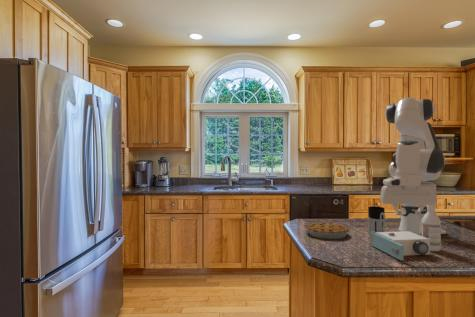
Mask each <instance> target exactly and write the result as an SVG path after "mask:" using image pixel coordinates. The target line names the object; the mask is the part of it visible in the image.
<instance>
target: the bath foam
mask: <svg viewBox="0 0 475 317" xmlns="http://www.w3.org/2000/svg"><path fill="white" fill-rule="evenodd" d="M426 207H427V213H426V214H425V215H424V217H423V219H422V235H421V236H423V237H426V238H428V239H430V252H440V251H441V248H442V244H441V243H442V241H441V240H442V239H441V238H442V234H441V229H442V225H441V219H440V217H439V215H437V212H436V204H435V205H427V206H426Z"/></svg>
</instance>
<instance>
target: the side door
mask: <svg viewBox="0 0 475 317" xmlns="http://www.w3.org/2000/svg"><path fill="white" fill-rule="evenodd" d="M371 247H373V248H375V249H378V250H380V251H382V252H383V253H386V255H389V256H391V257H393V258H395V259H396V260H399V261H401V262H403V261H404V260H405V259H404V245H401V244H399V243H397V242H395V241H392V240H390V239H388V238H386V237H383V236H381V235H379V234H377V233H375V232H374V231H372V238H371Z"/></svg>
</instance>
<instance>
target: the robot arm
mask: <svg viewBox="0 0 475 317" xmlns="http://www.w3.org/2000/svg"><path fill="white" fill-rule="evenodd" d="M435 111H436V106H435V104H434V102H433V101H432V100H431V99H429V98H422V99H416V98H413V97H410V96H409V97H404V98H401V100H399V101H398V102H397V103H396V102H395V103H391V104H388V105H387V106H386V109H385V112H384V116H385V119H386V120H387V121H386V122H388V123H389V124H394V127H395V128H396V130H397V131H398V132H399V142H397V144H396V145H397V146H396V150H395V151H396V152H394V153H393V154H392V162H391V163H390V164H389V165H388V172H389V175H390V177H388V178H385V179H382V180H383V181H382V184H383V186H381V189H380V195H379V196H380V197H379V198H380V202H381V203H382V204H384V205H392V207H393V209H394V211H395V216H401V217H400V223H399V227H398V231H399V232H401V231H409V232H412V233H415V234H417V235H420V236H422V219H423V217H424V215H425V214H426V213H427V206H426V205H435V206H436V204H437V203H438V196H437V192H436V191H437V184H436V182H435V183H434V182H433V181H437V179H439V177H440V176H441V174H442V171H443V169H445V166H446V158H445V157H446V156H445V154H443V150H442V149H441V147H440V144H439V142H438V138H437V137H436V133H435V131H434V129H433V127H432V124H431V123H430V122H428V120H430V119H432V118H433V116H434V114H435ZM399 205H400V210H399V208H398V207H399ZM446 234H447V231H446V230H444V229H442V228H441V235H446Z"/></svg>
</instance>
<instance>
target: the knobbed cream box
mask: <svg viewBox="0 0 475 317" xmlns="http://www.w3.org/2000/svg"><path fill="white" fill-rule="evenodd" d="M376 233H377V234H379V235H381V236H383V237H386V238H388V239H390V240H392V241H395V242H397V243H399V244H401V245H404V256H425V255H430V254H431V253H430V252H431V251H430V239H428V238H426V237H423V236H422V235H418V234H415V233H412V232H409V231H385V232H376Z"/></svg>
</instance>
